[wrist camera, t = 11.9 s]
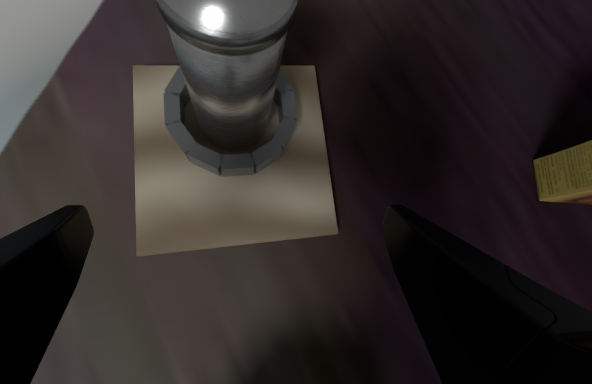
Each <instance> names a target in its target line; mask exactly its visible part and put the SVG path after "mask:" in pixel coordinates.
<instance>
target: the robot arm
mask: <svg viewBox="0 0 592 384" xmlns="http://www.w3.org/2000/svg"><path fill="white" fill-rule="evenodd" d="M382 233H383V237H384V240H385V243H386V247H387V250H388V253H389V256H390V260H391V263H392V266H393V269H394V272H395V274H396V277H397V279H398V282H399V284H400V286H401V289H402V291H403V293H404V296H405V298H406V300H407V302H408V305H409V307H410V309H411V312H412V314H413V316H414V319H415V321H416V323H417V326H418V328H419V330H420V333H421V335H422V337H423V340H424V342H425V344H426V347H427V349H428V351H429V354H430V356H431V358H432V361H433V363H434V365H435V368H436V370H437V372H438V375H439V377H440V379H441V382H442V384H592V311H591V310H589V309H587V308H585V307H583V306H581V305H579V304H577V303H575V302H573V301H571V300H569V299H567V298H565V297H563V296H561V295H560V294H558V293H556V292H554V291H552V290H550V289H548V288H546V287H544V286H542V285H541V284H539V283H537V282H535V281H533V280H531V279H530V278H528V277H526V276H524V275H523V274H521V273H519V272H517V271H515V270H514V269H512V268H510V267H509V266H507V265H503V263H502V262H500V261H498V260H496V259H495V258H493V257H491V256H489V255H488V254H486V253H484V252H482V251H481V250H479V249H477V248H475V247H474V246H472V245H470V244H469V243H467V242H465V241H463V240H462V239H460V238H458V237H456V236H455V235H453V234H451V233H449V232H448V231H446V230H444V229H443V228H441V227H439V226H437V225H436V224H434V223H432V222H430V221H429V220H427V219H425V218H423V217H422V216H420V215H418V214H416V213H415V212H413V211H411V210H410V209H408V208H406V207H404V206H403V205H390V206H388V208H387V210H386V213H385V216H384V219H383V222H382ZM93 235H94V229H93V225H92V223H91V220H90V217H89V214H88V211H87V209H86V207H85V206H83V205H67V206H64V207H63V208H61V209H59V210H57V211H55V212H53V213H51V214H49V215H47V216H45V217H43V218H41V219H39V220H37V221H35V222H33V223H31V224H29V225H27V226H25V227H23V228H21V229H19V230H17V231H15V232H13V233H11V234H9V235H7V236H5V237H3V238H1V239H0V384H30V383H31V381H32V379H33V377H34V375H35V373H36V371H37V368H38V366H39V364H40V362H41V360H42V358H43V356H44V354H45V352H46V349H47V347H48V345H49V343H50V341H51V339H52V337H53V335H54V333H55V330H56V328H57V326H58V324H59V322H60V320H61V318H62V316H63V314H64V311H65V309H66V307H67V305H68V303H69V301H70V299H71V297H72V295H73V292H74V290H75V288H76V286H77V283H78V280H79V278H80V275H81V272H82V269H83V266H84V263H85V260H86V257H87V254H88V251H89V248H90V245H91V242H92V239H93Z"/></svg>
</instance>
